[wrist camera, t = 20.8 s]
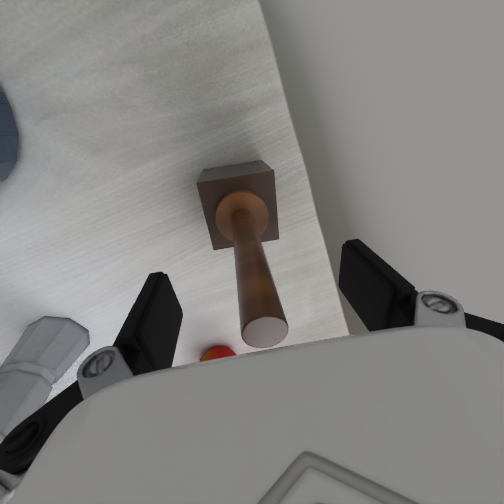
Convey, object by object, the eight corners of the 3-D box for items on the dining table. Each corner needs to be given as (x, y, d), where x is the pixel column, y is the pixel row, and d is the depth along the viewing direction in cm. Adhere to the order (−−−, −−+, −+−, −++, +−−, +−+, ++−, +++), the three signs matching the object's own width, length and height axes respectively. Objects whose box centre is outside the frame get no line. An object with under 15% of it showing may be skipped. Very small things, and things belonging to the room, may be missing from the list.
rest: (202, 169, 25) (196, 182, 19) (262, 160, 25) (274, 170, 19) (215, 224, 29) (213, 250, 23) (267, 216, 29) (279, 239, 23)
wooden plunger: (209, 194, 20) (187, 300, 8) (263, 184, 20) (324, 273, 8) (222, 242, 22) (220, 378, 10) (269, 233, 22) (323, 357, 10)
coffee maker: (19, 302, 31) (-182, 475, 16) (88, 310, 33) (-30, 470, 18) (38, 365, 38) (-91, 529, 22) (94, 368, 40) (12, 521, 24)
